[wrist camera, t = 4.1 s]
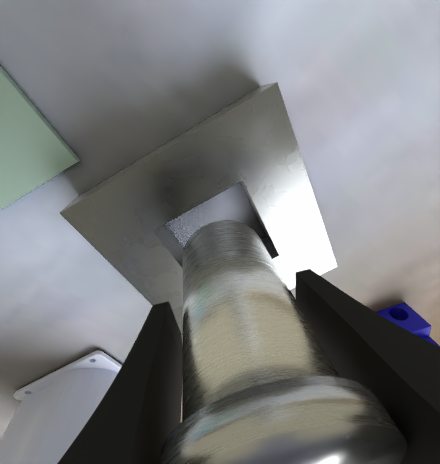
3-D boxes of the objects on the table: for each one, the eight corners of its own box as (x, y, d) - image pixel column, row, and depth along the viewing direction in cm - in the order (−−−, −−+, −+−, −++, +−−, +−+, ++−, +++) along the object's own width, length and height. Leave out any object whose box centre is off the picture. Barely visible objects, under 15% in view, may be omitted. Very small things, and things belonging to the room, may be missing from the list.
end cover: (186, 303, 14) (191, 545, 6) (160, 224, 11) (110, 479, 4) (274, 283, 14) (382, 494, 6) (268, 201, 11) (440, 394, 4)
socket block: (186, 313, 20) (186, 339, 17) (78, 195, 14) (59, 212, 12) (318, 247, 18) (337, 266, 16) (260, 86, 12) (277, 82, 10)
